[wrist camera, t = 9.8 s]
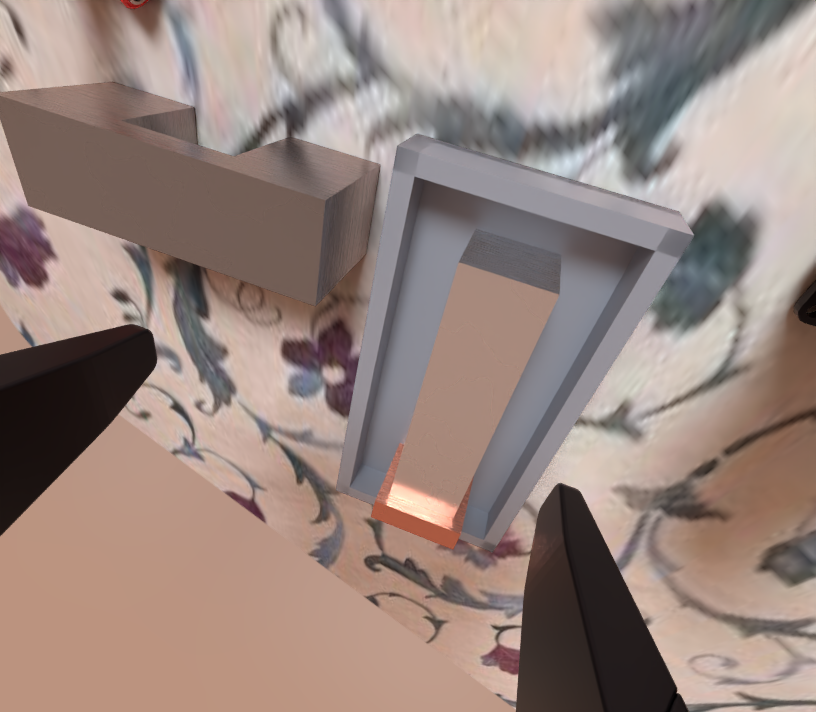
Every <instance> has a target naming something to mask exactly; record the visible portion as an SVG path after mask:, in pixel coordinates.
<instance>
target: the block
mask: <svg viewBox="0 0 816 712" xmlns="http://www.w3.org/2000/svg"><path fill="white" fill-rule="evenodd" d="M0 120H1V123H2V126H3V129H4V132H5V135H6V138H7V142H8V145H9V148H10V151H11V154H12V157H13V160H14V163H15V166H16V169H17V172H18V176H19V179H20V182H21V185H22V188H23V191H24V194H25V197H26V200H27V203H28V206H30V207H33V208H36V209H39V210H42V211H45V212H48V213H50V214H53V215H56V216H59V217H62V218H65V219H68V220H70V221H73V222H76V223H79V224H82V225H85V226H88V227H90V228H93V229H96V230H99V231H102V232H105V233H108V234H110V235H113V236H116V237H119V238H122V239H125V240H127V241H130V242H133V243H136V244H139V245H142V246H145V247H147V248H150V249H153V250H156V251H159V252H162V253H165V254H167V255H170V256H173V257H176V258H179V259H182V260H185V261H187V262H190V263H193V264H196V265H199V266H202V267H205V268H207V269H210V270H213V271H216V272H219V273H222V274H225V275H227V276H230V277H233V278H236V279H239V280H242V281H245V282H247V283H250V284H253V285H256V286H259V287H262V288H265V289H267V290H270V291H273V292H276V293H279V294H282V295H285V296H287V297H290V298H293V299H296V300H299V301H302V302H304V303H307V304H310V305H313V306H316V305H317V304H318V303H319V302H320V301H321V300H322V299H323V298H324V297H325V296H326V295H327V294H328V293H329V292H330V291H331V290H332V289H333V288H334V287H335V286H336V284H337V283H338V282H339V281H340V280H341V279H342V278H343V277H344V276H345V275H346V274H347V273H348V272H349V271H350V270H351V269H352V268H353V267H354V266H355V265H356V264H357V263H358V262H359V260H360V259H361V258H362V257H363V256H364V255H365V254H366V250H367V244H368V238H369V232H370V225H371V219H372V213H373V207H374V200H375V194H376V188H377V182H378V175H379V169H380V164H377V163H374V162H370V161H367V160H364V159H361V158H357V157H354V156H351V155H348V154H344V153H341V152H338V151H335V150H332V149H328V148H325V147H322V146H319V145H315V144H312V143H309V142H306V141H302V140H299V139H296V138H293V137H289V138H286V139H283V140H280V141H277V142H274V143H271V144H268V145H265V146H262V147H260V148H257V149H254V150H251V151H248V152H245V153H242V154H239V155H236V156H231V155H228V154H225V153H221V152H218V151H215V150H212V149H209V148H206V147H203V146H199V145H197V135H196V123H195V110H194V107H192V106H189V105H186V104H182V103H179V102H176V101H173V100H170V99H166V98H163V97H160V96H157V95H153V94H150V93H147V92H144V91H140V90H137V89H134V88H131V87H127V86H124V85H121V84H118V83H114V82H107V83H96V84H85V85H74V86H63V87H52V88H41V89H30V90H19V91H8V92H0Z"/></svg>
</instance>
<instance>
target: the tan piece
mask: <svg viewBox="0 0 816 712" xmlns="http://www.w3.org/2000/svg"><path fill="white" fill-rule="evenodd" d="M560 274H561V255H560V254H557V253H554V252H550V251H547V250H544V249H541V248H538V247H534V246H531V245H528V244H525V243H522V242H518V241H515V240H512V239H509V238H506V237H502V236H499V235H496V234H493V233H490V232H486V231H483V230H480V229H477V228H476V229H475V231H474V233H473V235H472V237H471V239H470V241H469V243H468V245H467V247H466V249H465V251H464V253H463V255H462V256H461V258H460V260H459V263H458V266H457V269H456V273H455V276H454V279H453V283H452V286H451V289H450V293H449V296H448V299H447V303H446V306H445V310H444V313H443V316H442V320H441V323H440V326H439V330H438V333H437V336H436V340H435V343H434V346H433V350H432V353H431V356H430V360H429V363H428V367H427V370H426V373H425V377H424V380H423V383H422V387H421V390H420V393H419V397H418V400H417V403H416V407H415V410H414V413H413V417H412V420H411V424H410V427H409V430H408V434H407V437H406V440H405V444H401V443H399V446H398V448H397V451H396V453H395V455H394V458H393V460H392V462H391V465H390V467H389V469H388V472H387V474H386V476H385V479H384V481H383V483H382V486H381V488H380V491H379V493H378V495H377V498H376V500H375V503H374V507H373V511H372V514H371V517H372V518H375V519H377V520H380V521H382V522H385V523H387V524H390V525H393V526H395V527H398V528H400V529H403V530H405V531H408V532H410V533H413V534H415V535H418V536H420V537H423V538H425V539H428V540H430V541H433V542H435V543H438V544H441V545H443V546H446V547H448V548H451V549H454V547H455V545H456V543H457V541H458V539H459V537H460V535H461V531H462V527H463V522H464V518H465V513H466V509H467V504H468V500H469V495H470V491H471V486H472V482H473V477H474V474H475V472H476V470H477V468H478V465H479V463H480V461H481V459H482V457H483V455H484V453H485V451H486V449H487V446H488V444H489V442H490V440H491V438H492V436H493V434H494V432H495V430H496V428H497V425H498V423H499V421H500V419H501V417H502V415H503V413H504V411H505V409H506V406H507V404H508V402H509V400H510V398H511V396H512V394H513V392H514V390H515V388H516V385H517V383H518V381H519V379H520V377H521V375H522V373H523V371H524V369H525V366H526V364H527V362H528V360H529V358H530V356H531V354H532V352H533V350H534V348H535V345H536V343H537V341H538V339H539V337H540V335H541V333H542V331H543V329H544V326H545V324H546V322H547V320H548V318H549V316H550V314H551V312H552V310H553V308H554V305H555V303H556V301H557V299H558V297H559V295H560Z"/></svg>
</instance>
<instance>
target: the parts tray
mask: <svg viewBox="0 0 816 712" xmlns="http://www.w3.org/2000/svg"><path fill="white" fill-rule="evenodd" d="M476 228H477V229H480V230H483V231H486V232H490V233H493V234H496V235H499V236H502V237H506V238H509V239H512V240H515V241H518V242H522V243H525V244H528V245H531V246H534V247H538V248H541V249H544V250H547V251H550V252H554V253H557V254H560V255H561V274H560V295H559V297H558V299H557V301H556V303H555V305H554V308H553V310H552V312H551V314H550V316H549V318H548V320H547V322H546V324H545V326H544V329H543V331H542V333H541V335H540V337H539V339H538V341H537V343H536V345H535V348H534V350H533V352H532V354H531V356H530V358H529V360H528V362H527V364H526V366H525V369H524V371H523V373H522V375H521V377H520V379H519V381H518V383H517V385H516V388H515V390H514V392H513V394H512V396H511V398H510V400H509V402H508V404H507V406H506V409H505V411H504V413H503V415H502V417H501V419H500V421H499V423H498V425H497V428H496V430H495V432H494V434H493V436H492V438H491V440H490V442H489V444H488V446H487V449H486V451H485V453H484V455H483V457H482V459H481V461H480V463H479V465H478V468H477V470H476V472H475V474H474V477H473V482H472V486H471V491H470V495H469V500H468V504H467V509H466V513H465V518H464V522H463V527H462V531H461V535H460V537H459V539H460V540H463V541H465V542H468V543H470V544H473V545H475V546H478V547H480V548H483V549H485V550H488V551H490V552H493V551H494V549H495V548H496V546H497V545H498V543H499V542H500V540H501V539H502V537H503V535H504V534H505V532H506V531H507V529H508V528H509V526H510V524H511V523H512V521H513V520H514V518H515V517H516V515H517V513H518V512H519V510H520V509H521V507H522V506H523V504H524V502H525V501H526V499H527V498H528V496H529V495H530V493H531V491H532V490H533V488H534V487H535V485H536V484H537V482H538V480H539V479H540V477H541V476H542V474H543V473H544V471H545V469H546V468H547V466H548V465H549V463H550V462H551V460H552V458H553V457H554V455H555V454H556V452H557V451H558V449H559V447H560V446H561V444H562V443H563V441H564V440H565V438H566V436H567V435H568V433H569V432H570V430H571V429H572V427H573V425H574V424H575V422H576V421H577V419H578V418H579V416H580V414H581V413H582V411H583V410H584V408H585V407H586V405H587V403H588V402H589V400H590V399H591V397H592V396H593V394H594V392H595V391H596V389H597V388H598V386H599V385H600V383H601V381H602V380H603V378H604V377H605V375H606V374H607V372H608V370H609V369H610V367H611V366H612V364H613V363H614V361H615V359H616V358H617V356H618V355H619V353H620V352H621V350H622V348H623V347H624V345H625V344H626V342H627V341H628V339H629V337H630V336H631V334H632V333H633V331H634V330H635V328H636V326H637V325H638V323H639V322H640V320H641V319H642V317H643V315H644V314H645V312H646V311H647V309H648V308H649V306H650V304H651V303H652V301H653V300H654V298H655V297H656V295H657V293H658V292H659V290H660V289H661V287H662V286H663V284H664V282H665V281H666V279H667V278H668V276H669V275H670V273H671V271H672V270H673V268H674V267H675V265H676V264H677V262H678V260H679V259H680V257H681V256H682V254H683V253H684V251H685V249H686V248H687V246H688V245H689V243H690V242H691V240H692V238H693V237H694V234H693V233H692V231H691V229H690V228H689V226H688V225H687V223H686V222H685V220H684V218H683V217H682V215H681V214H680V212H678V211H675V210H672V209H668V208H665V207H662V206H658V205H655V204H652V203H648V202H645V201H641V200H638V199H635V198H631V197H628V196H625V195H621V194H618V193H615V192H611V191H608V190H605V189H601V188H598V187H594V186H591V185H588V184H584V183H581V182H578V181H574V180H571V179H568V178H564V177H561V176H558V175H554V174H551V173H548V172H544V171H541V170H537V169H534V168H531V167H527V166H524V165H521V164H517V163H514V162H511V161H507V160H504V159H501V158H497V157H494V156H490V155H487V154H484V153H480V152H477V151H474V150H470V149H467V148H464V147H460V146H457V145H454V144H450V143H447V142H443V141H440V140H437V139H433V138H430V137H427V136H423V135H420V134H416V135H414V136H413V137H411V138H409V139H408V140H406V141H404V142H403V143H401V144H399V145H398V146H397V151H396V156H395V162H394V167H393V173H392V179H391V184H390V190H389V195H388V201H387V206H386V212H385V218H384V223H383V229H382V234H381V240H380V246H379V251H378V257H377V262H376V268H375V274H374V279H373V285H372V290H371V296H370V302H369V307H368V313H367V318H366V324H365V330H364V335H363V341H362V346H361V352H360V358H359V363H358V369H357V374H356V380H355V386H354V391H353V397H352V402H351V408H350V414H349V419H348V425H347V430H346V436H345V442H344V447H343V453H342V458H341V464H340V470H339V475H338V481H337V486H336V491H339V492H341V493H344V494H346V495H349V496H351V497H354V498H357V499H359V500H362V501H364V502H367V503H369V504H372V505H374V503H375V500H376V498H377V495H378V493H379V491H380V488H381V486H382V483H383V481H384V479H385V476H386V474H387V472H388V469H389V467H390V465H391V462H392V460H393V458H394V455H395V453H396V451H397V448H398V446H399V443H401V444H405V440H406V437H407V434H408V430H409V427H410V424H411V420H412V417H413V413H414V410H415V407H416V403H417V400H418V397H419V393H420V390H421V387H422V383H423V380H424V377H425V373H426V370H427V367H428V363H429V360H430V356H431V353H432V350H433V346H434V343H435V340H436V336H437V333H438V330H439V326H440V323H441V320H442V316H443V313H444V310H445V306H446V303H447V299H448V296H449V293H450V289H451V286H452V283H453V279H454V276H455V273H456V269H457V266H458V263H459V260H460V258H461V256H462V255H463V253H464V251H465V249H466V247H467V245H468V243H469V241H470V239H471V237H472V235H473V233H474V231H475V229H476Z"/></svg>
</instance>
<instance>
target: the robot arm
mask: <svg viewBox="0 0 816 712" xmlns="http://www.w3.org/2000/svg"><path fill="white" fill-rule="evenodd" d="M812 306H816V280H815V282H814V283H813V284H812V285H811V286H810V287H809V288H808V290H807V291H806V292H805V293H804V294H803V295H802V296H801V298H800V299H799V300H798V301H797V302H796V304H795V306H794V313H795V314H796V316H797V317H798V318H799V319H800V321H802V322H804V323H807V324H810V325H813V326H816V311H814V312H811V313H807V310H808V309H809V308H810V307H812ZM156 364H157V354H156V349H155V343H154V338H153V334H152V332H151V331H150V330H148V329H146V328H143V327H140V326H138V325H134V324H129V325H124V326H120V327H116V328H112V329H107V330H103V331H99V332H95V333H90V334H86V335H82V336H78V337H73V338H69V339H65V340H61V341H56V342H52V343H48V344H44V345H39V346H35V347H31V348H27V349H23V350H18V351H14V352H10V353H6V354H1V355H0V536H1V535H2V534H3V533H4V532H5V531H6V530H7V529H8V528H9V527H10V526H11V525H12V524H13V523H14V522H15V521H16V520H17V518H19V517H20V516H21V515H22V514H23V512H24V511H26V510H27V509H28V508H29V507H30V505H31V504H32V503H33V502H34V501H35V500H36V499H37V498H38V497H39V496H40V495H41V494H42V493H43V492H44V491H45V490H46V489H47V488H48V487H49V486H50V485H51V484H52V483H53V482H54V481H55V480H56V479H57V478H58V477H59V476H60V475H61V474H62V473H63V472H64V471H65V470H66V469H67V468H68V467H69V466H70V464H72V463H73V461H75V459H76V458H77V457H78V456H79V455H80V454H81V453H82V452H83V451H84V450H85V449H86V448H87V447H88V446H89V445H90V444H91V443H92V442H93V441H94V440H95V439H96V438H97V437H98V436H99V435H100V434H101V433H102V432H103V431H104V430H105V429H106V428H107V427H108V426H109V424H110V423H111V422H112V421H113V420H114V418H115V417H116V416H117V415H118V414H119V413H120V411H121V410H122V409H123V408H124V406H125V405H126V404H127V403H128V401H129V400H130V399H131V398H132V396H133V395H134V394H135V393H136V391H137V390H138V389H139V388H140V386H141V385H142V384H143V383H144V381H145V380H146V379H147V378H148V376H149V375H150V374H151V373H152V371H153V370H154V368H155V366H156ZM516 712H689V711H688V708H687V706H686V704H685V702H684V700H683V698H682V696H681V695H680V694H679V693H677V687H676V685H675V682H674V680H673V678H672V676H671V674H670V672H669V670H668V668H667V666H666V664H665V662H664V660H663V658H662V656H661V654H660V652H659V650H658V648H657V646H656V644H655V642H654V640H653V638H652V636H651V634H650V632H649V630H648V628H647V626H646V624H645V622H644V620H643V618H642V615H641V613H640V611H639V609H638V607H637V605H636V603H635V601H634V599H633V597H632V595H631V593H630V591H629V589H628V587H627V585H626V583H625V581H624V579H623V577H622V575H621V573H620V571H619V569H618V567H617V565H616V563H615V561H614V559H613V557H612V555H611V553H610V551H609V548H608V546H607V544H606V542H605V540H604V538H603V536H602V534H601V532H600V530H599V528H598V526H597V524H596V522H595V520H594V518H593V516H592V514H591V512H590V510H589V508H588V506H587V504H586V502H585V500H584V498H583V496H582V494H581V492H580V491H579V490H578V489H576V488H573V487H570V486H568V485H565V484H562V483H559V484H557V485H556V486H555V487H554V488H553V490H552V491H551V493H550V494H549V496H548V497H547V499H546V500H545V502H544V503H543V504H542V506H541V508H540V511H539V514H538V518H537V524H536V529H535V534H534V540H533V545H532V550H531V556H530V561H529V566H528V572H527V577H526V583H525V590H524V600H523V614H522V629H521V643H520V658H519V673H518V688H517V703H516Z"/></svg>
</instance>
